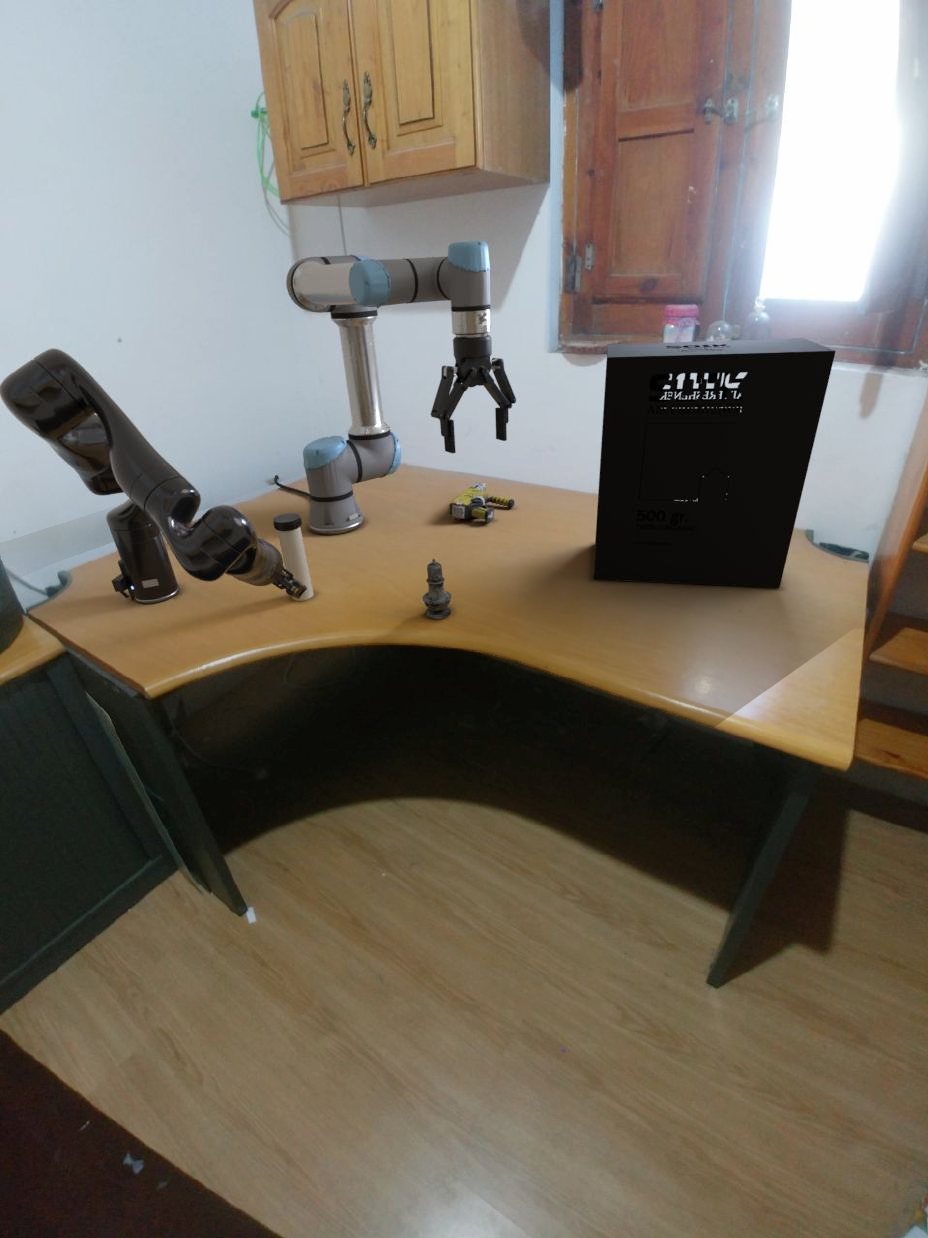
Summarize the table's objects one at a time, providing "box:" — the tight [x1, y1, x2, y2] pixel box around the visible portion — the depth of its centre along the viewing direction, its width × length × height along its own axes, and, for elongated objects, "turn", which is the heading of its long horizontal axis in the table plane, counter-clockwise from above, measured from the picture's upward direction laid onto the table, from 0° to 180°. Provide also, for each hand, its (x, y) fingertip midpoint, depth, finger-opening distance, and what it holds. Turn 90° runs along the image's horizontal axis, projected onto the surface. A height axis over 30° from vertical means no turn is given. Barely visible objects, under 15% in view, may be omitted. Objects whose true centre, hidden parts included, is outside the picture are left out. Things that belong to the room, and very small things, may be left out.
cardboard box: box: [592, 337, 836, 589], centre depth 125 cm, size 38×20×45 cm, turn 78°
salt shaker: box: [422, 558, 453, 620], centre depth 120 cm, size 6×6×12 cm
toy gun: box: [448, 481, 515, 523], centre depth 173 cm, size 5×24×15 cm
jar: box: [276, 526, 315, 602], centre depth 128 cm, size 5×5×18 cm
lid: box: [272, 512, 303, 532], centre depth 124 cm, size 6×6×2 cm
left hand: (278, 572), depth 113 cm, fingers open, 8 cm apart
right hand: (476, 445), depth 127 cm, fingers open, 13 cm apart
